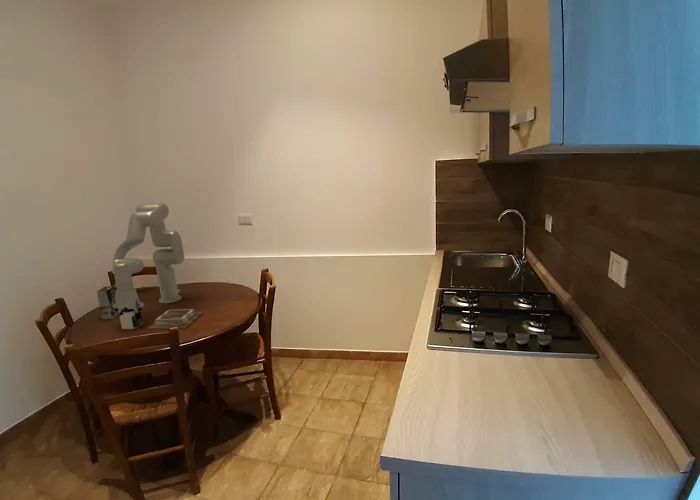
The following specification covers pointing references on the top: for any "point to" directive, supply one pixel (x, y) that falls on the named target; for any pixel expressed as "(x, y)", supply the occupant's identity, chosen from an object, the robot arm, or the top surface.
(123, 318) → the medicine bottle
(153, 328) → the collar board
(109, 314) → the coffee box
